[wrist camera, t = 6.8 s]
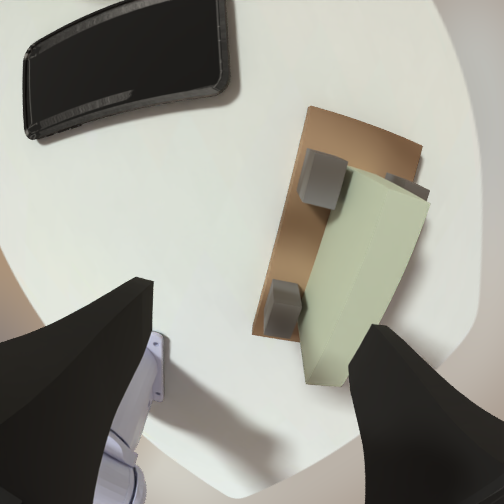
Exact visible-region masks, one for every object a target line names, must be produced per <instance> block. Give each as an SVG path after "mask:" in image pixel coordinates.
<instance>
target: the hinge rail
mask: <svg viewBox="0 0 504 504" xmlns="http://www.w3.org/2000/svg"><path fill="white" fill-rule="evenodd" d="M422 147H423V146H422V145H419V144H417V143H415V142H413V141H410V140H408V139H406V138H403V137H401V136H399V135H396V134H394V133H391V132H389V131H386V130H384V129H381V128H378V127H376V126H373V125H370V124H367V123H365V122H362V121H359V120H356V119H353V118H350V117H347V116H344V115H341V114H338V113H334V112H331V111H328V110H324V109H321V108H317V107H314V106H310V107H308V110H307V115H306V119H305V123H304V127H303V132H302V136H301V140H300V144H299V148H298V152H297V157H296V161H295V165H294V169H293V173H292V177H291V181H290V185H289V189H288V193H287V197H286V201H285V205H284V209H283V213H282V217H281V221H280V225H279V229H278V233H277V236H276V240H275V244H274V248H273V252H272V256H271V259H270V263H269V267H268V271H267V275H266V278H265V282H264V286H263V289H262V293H261V297H260V301H259V304H258V308H257V312H256V315H255V319H254V323H253V328H252V335H257V336H263V337H269V338H275V339H281V340H288V341H295V342H300V337H299V330H298V323H297V320H298V317H299V314H300V312H301V309H302V304H301V300H302V297H303V294H304V292H305V289H306V286H307V283H308V280H309V277H310V274H311V271H312V268H313V265H314V262H315V259H316V256H317V253H318V250H319V247H320V244H321V241H322V238H323V235H324V231H325V228H326V225H327V222H328V218H329V215H330V212H331V209H332V210H335V207H336V204H337V200H338V197H339V194H340V190H341V187H342V183H343V180H344V176H345V172H346V169H347V165H348V166H351V167H354V168H358V169H361V170H364V171H367V172H370V173H373V174H376V175H378V176H380V177H382V178H384V179H386V180H388V181H390V182H392V183H394V184H396V185H398V186H400V187H401V188H403V189H405V190H407V191H409V192H411V193H413V194H414V195H416V196H418V197H420V198H422V199H423V200H425V201H427V198H428V195H429V192H430V190H428V189H426V188H424V187H422V186H420V185H418V184H416V183H413V180H414V176H415V173H416V169H417V166H418V162H419V158H420V155H421V151H422Z"/></svg>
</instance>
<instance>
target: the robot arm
mask: <svg viewBox="0 0 504 504" xmlns="http://www.w3.org/2000/svg"><path fill="white" fill-rule="evenodd" d="M153 285H154V281H151V280H147V279H143V278H139V277H135V278H133V279H131V280H129V281H127V282H126V283H124V284H122V285H121V286H119V287H117V288H116V289H114V290H112V291H111V292H109V293H107V294H106V295H104V296H102V297H100V298H99V299H97V300H95V301H94V302H92V303H90V304H89V305H87V306H85V307H83V308H81V309H79V310H77V311H75V312H74V313H72V314H70V315H68V316H66V317H64V318H62V319H60V320H58V321H56V322H54V323H52V324H50V325H48V326H45V327H43V328H40V329H38V330H36V331H33V332H31V333H28V334H26V335H23V336H20V337H17V338H13V339H10V340H7V341H5V342H1V343H0V504H144V503H145V499H146V482H145V479H144V474H143V472H142V470H141V468H140V467H139V466H137V465H135V463H136V460H137V457H138V454H137V453H135V452H134V450H135V448H136V447H137V445H138V443H139V440H140V437H141V434H142V431H143V428H144V425H145V422H146V419H147V416H148V413H149V410H150V407H151V404H152V401H153V400H154V401H158V402H162V401H163V399H164V387H163V336H162V335H161V334H160V333H157V332H153V331H152V311H153ZM156 342H157V343H156ZM348 372H349V383H350V391H351V396H352V400H353V404H354V409H355V413H356V417H357V422H358V426H359V430H360V435H361V439H362V444H363V450H364V460H365V476H366V477H365V482H366V483H365V487H366V488H365V494H366V495H365V504H504V421H502V420H500V419H498V418H496V417H495V416H493V415H491V414H490V413H488V412H486V411H485V410H483V409H482V408H480V407H479V406H477V405H476V404H475V403H473V402H471V401H470V400H469V399H468V398H466V397H465V396H464V395H463V394H461V393H460V392H459V391H457V390H456V389H455V388H454V387H453V386H451V385H450V384H449V383H448V382H447V381H446V380H445V379H444V378H442V377H441V376H440V375H439V374H438V373H437V372H436V371H435V370H434V369H433V368H432V367H431V366H430V365H429V364H427V363H426V362H425V361H424V360H423V359H422V358H421V357H420V356H419V355H418V354H417V353H416V352H415V351H414V350H413V349H412V348H411V347H410V346H409V345H408V344H407V343H406V342H405V341H404V340H403V339H401V338H400V337H399V336H398V335H397V334H396V333H395V332H394V331H392V330H391V329H390V328H389V327H387V326H384V325H377V324H371V326H370V328H369V330H368V332H367V334H366V335H365V337H364V339H363V341H362V342H361V344H360V346H359V348H358V349H357V351H356V353H355V355H354V356H353V358H352V360H351V361H350V363H349V365H348Z"/></svg>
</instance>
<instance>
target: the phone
mask: <svg viewBox="0 0 504 504" xmlns="http://www.w3.org/2000/svg"><path fill="white" fill-rule="evenodd" d="M230 76H231V75H230V60H229V45H228V30H227V14H226V0H124V1H121V2H118V3H116V4H113V5H110V6H108V7H105V8H103V9H100V10H98V11H95V12H93V13H91V14H88V15H86V16H84V17H82V18H80V19H77V20H75V21H73V22H71V23H69V24H67V25H65V26H63V27H61V28H59V29H57V30H56V31H54V32H52V33H50V34H48V35H47V36H45V37H43V38H41V39H40V40H38V41H36V42H35V43H33V44H32V45H31V46H30V47H29V48H28V50H27V52H26V53H25V56H24V60H23V87H22V89H23V120H24V130H25V134H26V136H27V137H28V138H29V139H31V140H35V139H40V138H43V137H46V136H47V137H48V136H51V135H53V134H54V133H57V132H58V133H60V132H63V131H65V130H68V129H69V128H71V129H72V128H75V127H78V126H81V124H83V123H87V122H90V121H93V120H97V119H100V118H104V117H107V116H111V115H115V114H119V113H123V112H127V111H131V110H135V109H140V108H144V107H149V106H154V105H159V104H164V103H170V102H176V101H182V100H188V99H195V98H203V97H211V96H215V95H218V94H220V93H221V92H223V91H224V90H225V89H226V88H227V86H228V84H229V82H230Z"/></svg>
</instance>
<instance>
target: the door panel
mask: <svg viewBox="0 0 504 504" xmlns="http://www.w3.org/2000/svg"><path fill="white" fill-rule="evenodd" d="M429 207H430V203H428V202H427V201H425V200H423V199H422V198H420V197H418V196H416V195H414V194H413V193H411V192H409V191H407V190H405V189H403V188H401V187H400V186H398V185H396V184H394V183H392V182H390V181H388V180H386V179H384V178H382V177H380V176H378V175H376V174H373V173H370V172H367V171H364V170H361V169H358V168H354V167H351V166H348V165H347V169H346V172H345V176H344V180H343V183H342V187H341V190H340V194H339V197H338V200H337V204H336V207H335V210H332V209H331V212H330V215H329V218H328V222H327V225H326V228H325V231H324V235H323V238H322V241H321V244H320V247H319V250H318V253H317V256H316V259H315V262H314V265H313V268H312V271H311V274H310V277H309V280H308V283H307V286H306V289H305V292H304V294H303V297H302V300H301V304H302V309H301V312H300V314H299V317H298V320H297V323H298V330H299V337H300V344H301V351H302V359H303V366H304V374H305V382H306V384H309V385H321V386H335V387H341V386H342V385H343V383H344V382H345V380H346V379H347V377H348V376H349V372H348V365H349V363H350V361H351V360H352V358H353V356H354V355H355V353H356V351H357V349H358V348H359V346H360V344H361V342H362V341H363V339H364V337H365V335H366V334H367V332H368V330H369V328H370V326H371V324H377V325H378V324H379V322H380V320H381V318H382V316H383V315H384V313H385V311H386V309H387V307H388V305H389V303H390V301H391V299H392V297H393V295H394V292H395V290H396V288H397V286H398V284H399V282H400V280H401V277H402V275H403V273H404V271H405V268H406V266H407V264H408V261H409V259H410V257H411V254H412V252H413V249H414V247H415V245H416V242H417V239H418V237H419V234H420V232H421V229H422V226H423V224H424V221H425V218H426V215H427V212H428V209H429Z"/></svg>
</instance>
